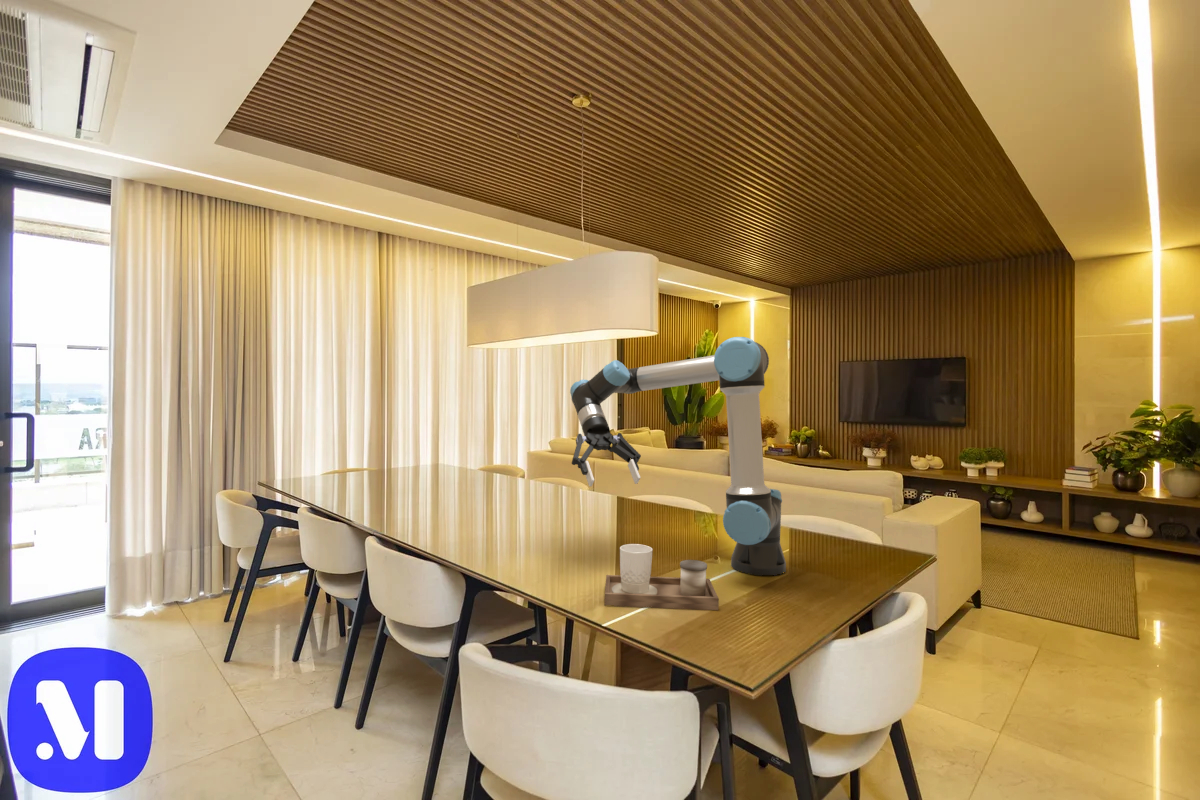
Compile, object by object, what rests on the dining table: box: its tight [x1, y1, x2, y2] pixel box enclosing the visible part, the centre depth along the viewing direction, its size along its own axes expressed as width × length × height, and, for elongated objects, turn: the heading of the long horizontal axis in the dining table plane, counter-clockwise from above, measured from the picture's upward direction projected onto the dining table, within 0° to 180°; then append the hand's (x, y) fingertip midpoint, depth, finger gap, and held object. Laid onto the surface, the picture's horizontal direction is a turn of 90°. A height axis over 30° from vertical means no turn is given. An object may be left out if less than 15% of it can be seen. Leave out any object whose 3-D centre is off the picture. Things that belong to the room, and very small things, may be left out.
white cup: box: [619, 543, 653, 594], centre depth 139 cm, size 8×8×10 cm
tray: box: [604, 559, 720, 611], centre depth 138 cm, size 26×14×8 cm, turn 88°
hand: (615, 482), depth 154 cm, fingers open, 13 cm apart
